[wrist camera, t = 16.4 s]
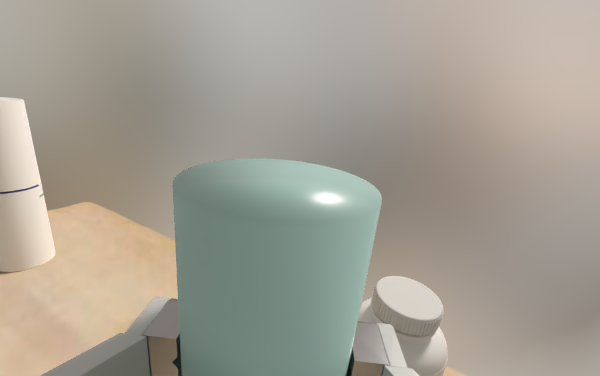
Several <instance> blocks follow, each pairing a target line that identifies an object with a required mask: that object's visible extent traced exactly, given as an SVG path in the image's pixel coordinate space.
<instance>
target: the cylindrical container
mask: <svg viewBox="0 0 600 376" xmlns="http://www.w3.org/2000/svg"><path fill="white" fill-rule="evenodd" d="M54 256H55V248H54V243H53V238H52V233H51V229H50V224H49V219H48V214H47V209H46V204H45V199H44V195H43V190H42V185H41V180H40V175H39V171H38V166H37V161H36V157H35V152H34V147H33V142H32V138H31V132H30V128H29V123H28V118H27V113H26V109H25V104H24V100H23V99H16V98H5V97H0V271H1V272H17V271H23V270H27V269H31V268H34V267H37V266H39V265H42V264H44V263H46V262H48V261H49V260H51V259H52V258H53V257H54Z"/></svg>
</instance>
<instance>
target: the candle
mask: <svg viewBox="0 0 600 376" xmlns="http://www.w3.org/2000/svg"><path fill="white" fill-rule="evenodd" d="M173 200H174V222H175V243H176V264H177V286H178V307H179V328H180V349H181V371H182V376H347V371H348V366H349V361H350V356H351V351H352V346H353V341H354V336H355V331H356V326H357V321H358V316H359V312H360V307H361V302H362V297H363V292H364V287H365V282H366V277H367V272H368V267H369V262H370V257H371V252H372V247H373V242H374V237H375V232H376V227H377V222H378V217H379V213H380V207H381V203H382V196H381V194H380V192H379V191H378V190H377V189H376V188H375V187H374V186H373V185H372V184H370V183H369V182H367V181H365V180H363V179H361V178H359V177H357V176H355V175H352V174H350V173H347V172H344V171H341V170H337V169H334V168H330V167H326V166H321V165H317V164H311V163H305V162H299V161H289V160H280V159H252V158H251V159H230V160H221V161H214V162H209V163H204V164H200V165H197V166H194V167H191V168H188V169H186V170H184V171H183V172H181V173H179V174H178V175H177V176H176V177H175V179H174V181H173Z"/></svg>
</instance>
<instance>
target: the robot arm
mask: <svg viewBox="0 0 600 376" xmlns="http://www.w3.org/2000/svg"><path fill="white" fill-rule="evenodd" d="M41 376H182V371H181V349H180V328H179V307H178V299H172V298H171V299H169V298H163V297H156V298H154V299H152V301H151V302H150V303H149V304H148V305H147V307H146V308H145V309H144V310H143V312H142V313H141V314H140V315H139V316H138V318H137V319H136V320H135V321H134V323H133V324H132V325H131V326H130V328H129V329H128V330H127V331H126V332H125V334H123V333H119V334H117V335H116V336H114V337H112V338H110V339H108V340H106V341H104V342H103V343H101V344H99V345H97V346H95V347H93V348H91V349H89V350H88V351H86V352H84V353H82V354H80V355H78V356H76V357H74V358H73V359H71V360H69V361H67V362H65V363H63V364H61V365H59V366H58V367H56V368H54V369H52V370H50V371H48V372H46V373H44V374H43V375H41ZM347 376H419V375H418V374H417V373H416V372H415V371H414V370H413V369H411V368H408V367H407V364H406V361H405V359H404V356H403V353H402V350H401V347H400V344H399V341H398V339H397V336H396V333H395V330H394V327H393V326H392V325H391V324H383V323H371V322H362V321H357V326H356V331H355V336H354V341H353V346H352V351H351V356H350V361H349V366H348V371H347Z"/></svg>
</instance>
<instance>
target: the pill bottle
mask: <svg viewBox="0 0 600 376" xmlns="http://www.w3.org/2000/svg"><path fill="white" fill-rule="evenodd" d="M442 316H443V306H442V303H441V301H440V299H439V298H438V297H437V296H436V294H435V293H434V292H433V291H431V290H430V289H429V288H428V287H426V286H425V285H423V284H421V283H419V282H417V281H415V280H412V279H409V278H405V277H399V276H389V277H385V278H382V279H381V280H379V281H378V282H377V283H376V285H375V289H374V293H373V297H372V298H370V299H368V300H366V301H364V302H363V303H361V307H360V312H359V316H358V321H362V322H371V323H383V324H391V325H392V326H393V327H394V330H395V333H396V336H397V339H398V341H399V344H400V347H401V350H402V353H403V356H404V359H405V361H406V364H407V367H408V368H411V369H413V370H414V371H415V372H416V373H417V374H418V375H419V376H442V375H443V372H444V369H445V367H446V363H447V358H448V352H447V344H446V340H445V337H444V335H443V333H442V331H441V329H440V328H439V325H440V322H441V319H442Z"/></svg>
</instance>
